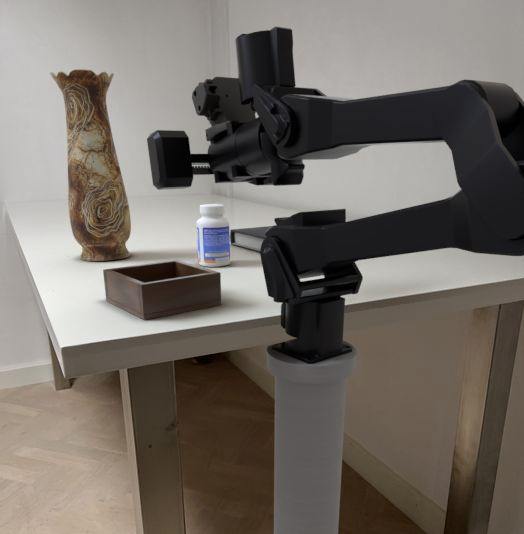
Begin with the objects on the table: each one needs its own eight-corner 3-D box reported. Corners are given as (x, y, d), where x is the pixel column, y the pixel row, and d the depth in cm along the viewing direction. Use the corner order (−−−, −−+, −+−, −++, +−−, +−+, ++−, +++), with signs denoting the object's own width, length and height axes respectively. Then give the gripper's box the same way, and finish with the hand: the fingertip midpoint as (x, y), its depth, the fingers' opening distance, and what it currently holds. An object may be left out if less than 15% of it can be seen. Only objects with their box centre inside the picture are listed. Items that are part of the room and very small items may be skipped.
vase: (112, 264, 93) (93, 66, 83) (60, 260, 97) (35, 69, 87) (144, 253, 103) (130, 74, 93) (95, 250, 106) (77, 77, 96)
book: (313, 235, 124) (313, 222, 123) (358, 244, 112) (359, 229, 111) (229, 244, 113) (229, 229, 112) (270, 255, 101) (270, 238, 100)
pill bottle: (237, 264, 94) (236, 204, 90) (213, 268, 90) (211, 207, 86) (215, 259, 97) (213, 202, 94) (191, 264, 93) (188, 204, 90)
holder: (221, 304, 69) (220, 272, 68) (144, 320, 63) (141, 284, 61) (178, 289, 77) (176, 259, 75) (106, 301, 71) (102, 269, 69)
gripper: (317, 75, 64) (247, 109, 77) (169, 62, 55) (118, 104, 68) (324, 174, 67) (255, 191, 80) (184, 179, 57) (131, 197, 70)
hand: (194, 170), depth 74 cm, fingers open, 9 cm apart
